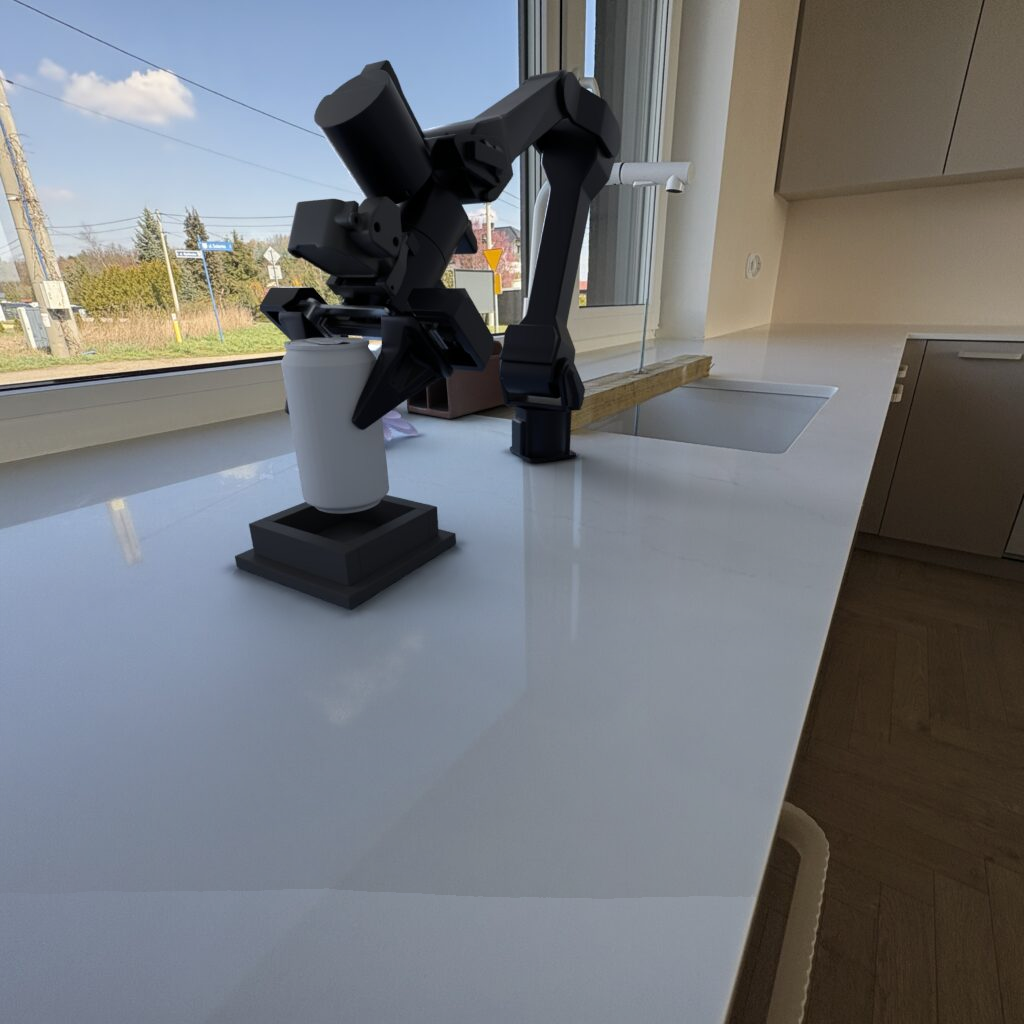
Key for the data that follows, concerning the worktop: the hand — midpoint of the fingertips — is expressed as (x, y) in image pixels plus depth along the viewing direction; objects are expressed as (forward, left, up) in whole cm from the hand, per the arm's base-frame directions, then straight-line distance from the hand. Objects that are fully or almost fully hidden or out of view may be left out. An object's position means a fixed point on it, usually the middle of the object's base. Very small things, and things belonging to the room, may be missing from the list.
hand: (322, 420), depth 40 cm
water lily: (-10, -36, -11) cm, 39 cm away
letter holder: (-30, -52, -11) cm, 61 cm away
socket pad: (-1, -1, -11) cm, 11 cm away
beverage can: (-1, -1, -7) cm, 7 cm away
